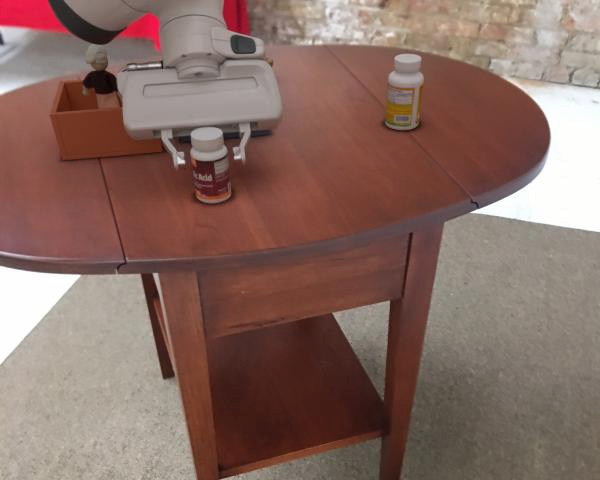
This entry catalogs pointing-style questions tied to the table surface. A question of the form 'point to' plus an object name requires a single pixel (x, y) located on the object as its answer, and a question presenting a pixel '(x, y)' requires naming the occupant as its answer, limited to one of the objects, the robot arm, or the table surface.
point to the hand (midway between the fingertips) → (210, 166)
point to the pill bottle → (210, 165)
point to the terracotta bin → (92, 126)
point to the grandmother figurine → (101, 78)
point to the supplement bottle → (404, 93)
